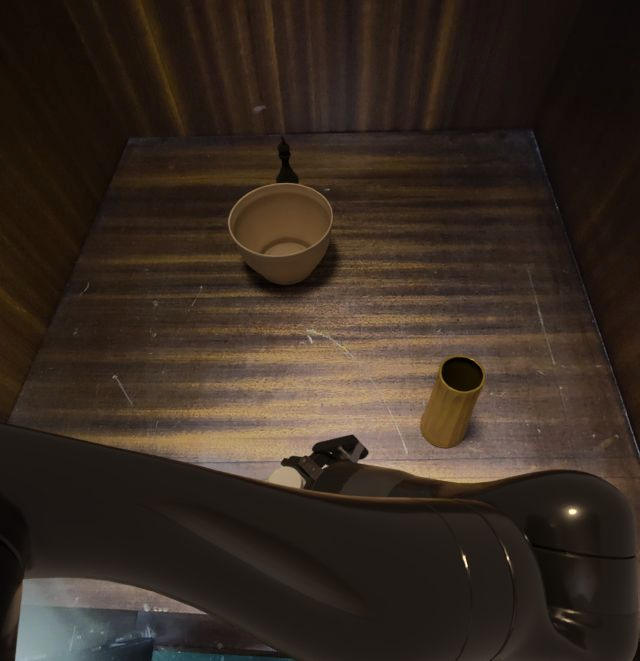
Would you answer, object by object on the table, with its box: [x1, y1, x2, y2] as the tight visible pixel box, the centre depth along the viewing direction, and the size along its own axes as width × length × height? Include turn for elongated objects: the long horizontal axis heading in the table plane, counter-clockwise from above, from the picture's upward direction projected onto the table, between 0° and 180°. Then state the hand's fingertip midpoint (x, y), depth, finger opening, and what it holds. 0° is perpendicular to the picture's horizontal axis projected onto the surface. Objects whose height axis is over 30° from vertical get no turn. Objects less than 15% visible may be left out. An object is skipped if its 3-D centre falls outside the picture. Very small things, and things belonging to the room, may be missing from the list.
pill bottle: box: [269, 466, 306, 489], centre depth 56 cm, size 4×4×8 cm
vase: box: [419, 353, 487, 449], centre depth 64 cm, size 6×6×14 cm
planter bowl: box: [227, 183, 334, 286], centre depth 84 cm, size 16×16×11 cm
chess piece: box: [275, 135, 300, 184], centre depth 97 cm, size 4×4×10 cm
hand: (274, 485), depth 56 cm, fingers closed on pill bottle, 4 cm apart
